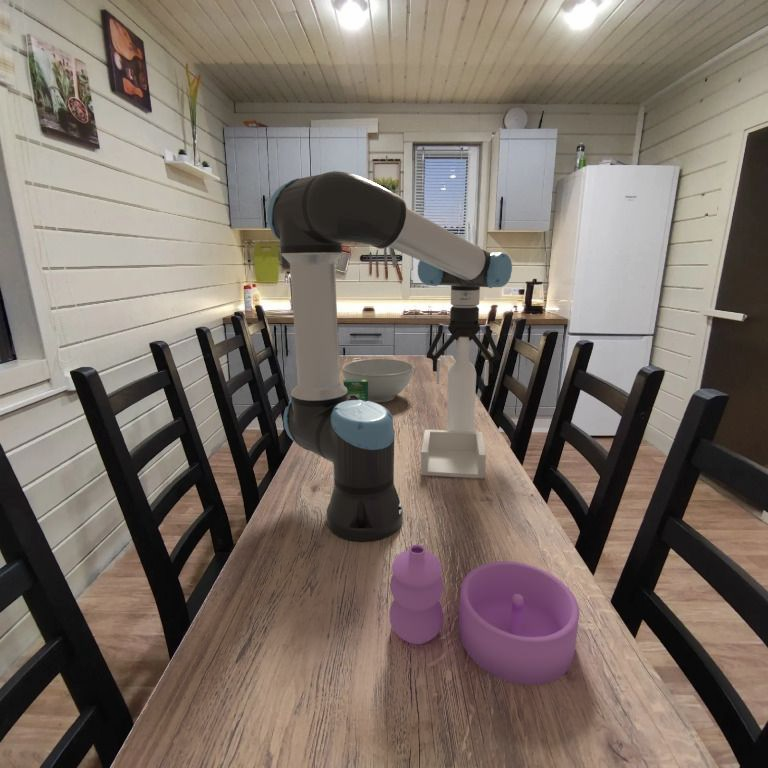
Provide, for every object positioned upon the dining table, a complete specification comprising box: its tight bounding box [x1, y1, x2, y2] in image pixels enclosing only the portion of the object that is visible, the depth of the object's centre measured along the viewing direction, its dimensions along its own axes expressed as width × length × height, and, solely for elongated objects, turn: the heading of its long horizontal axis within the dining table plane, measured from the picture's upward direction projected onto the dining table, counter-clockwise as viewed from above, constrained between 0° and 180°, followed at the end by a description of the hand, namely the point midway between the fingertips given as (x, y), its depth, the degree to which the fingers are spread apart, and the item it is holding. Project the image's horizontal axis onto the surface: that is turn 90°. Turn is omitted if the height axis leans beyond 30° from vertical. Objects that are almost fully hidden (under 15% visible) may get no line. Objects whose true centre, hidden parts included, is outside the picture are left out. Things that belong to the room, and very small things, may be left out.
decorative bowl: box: [341, 358, 415, 403], centre depth 171 cm, size 27×27×12 cm
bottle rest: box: [420, 429, 486, 480], centre depth 116 cm, size 15×15×6 cm
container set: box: [389, 543, 580, 686], centre depth 62 cm, size 25×15×13 cm, turn 85°
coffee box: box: [342, 379, 368, 402], centre depth 148 cm, size 8×3×13 cm, turn 99°
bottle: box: [445, 337, 477, 432], centre depth 128 cm, size 8×8×30 cm
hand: (461, 383), depth 128 cm, fingers open, 12 cm apart
